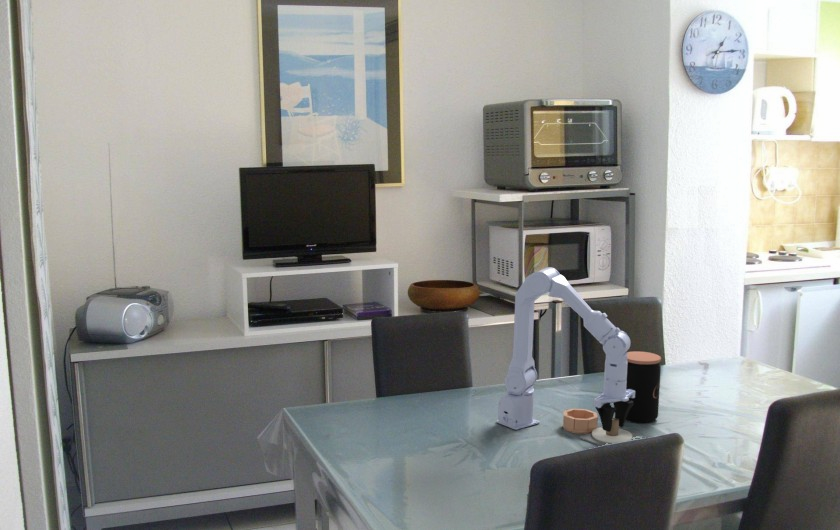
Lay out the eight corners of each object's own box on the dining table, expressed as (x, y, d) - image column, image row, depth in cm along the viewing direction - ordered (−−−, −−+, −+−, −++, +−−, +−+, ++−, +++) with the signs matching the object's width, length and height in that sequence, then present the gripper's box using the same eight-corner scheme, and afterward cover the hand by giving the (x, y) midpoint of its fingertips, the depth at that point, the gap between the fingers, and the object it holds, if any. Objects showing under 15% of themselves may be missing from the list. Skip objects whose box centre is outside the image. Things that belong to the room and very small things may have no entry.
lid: (614, 447, 217) (615, 429, 216) (583, 435, 225) (584, 417, 224) (640, 438, 223) (641, 420, 222) (609, 427, 231) (610, 410, 231)
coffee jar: (659, 425, 234) (662, 362, 231) (619, 422, 236) (622, 359, 234) (656, 413, 245) (659, 352, 242) (618, 410, 247) (621, 350, 244)
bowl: (581, 436, 225) (581, 422, 225) (556, 427, 232) (556, 413, 232) (603, 429, 231) (604, 415, 230) (578, 420, 238) (579, 406, 237)
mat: (611, 450, 215) (611, 449, 215) (578, 438, 224) (578, 436, 224) (646, 439, 224) (646, 437, 224) (613, 427, 232) (613, 426, 232)
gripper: (609, 387, 214) (606, 438, 216) (645, 377, 223) (642, 427, 225) (587, 380, 219) (585, 430, 221) (624, 371, 228) (621, 419, 230)
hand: (613, 428), depth 224 cm, fingers open, 5 cm apart
